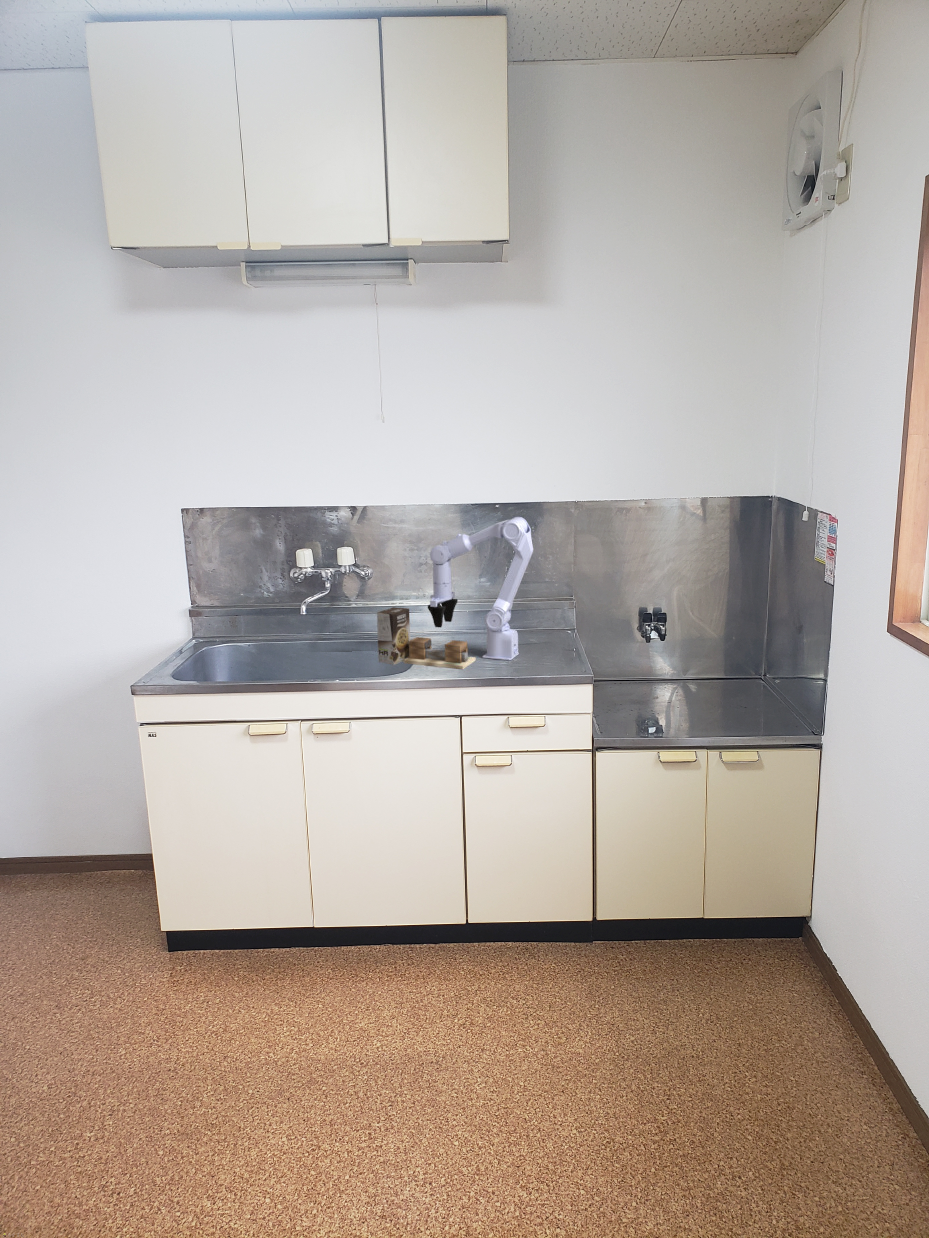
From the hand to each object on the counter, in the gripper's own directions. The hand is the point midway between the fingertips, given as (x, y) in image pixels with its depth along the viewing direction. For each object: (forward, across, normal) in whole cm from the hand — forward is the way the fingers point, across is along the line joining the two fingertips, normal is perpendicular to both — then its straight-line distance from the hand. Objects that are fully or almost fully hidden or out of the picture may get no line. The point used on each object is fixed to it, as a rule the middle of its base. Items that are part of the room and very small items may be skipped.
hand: (443, 624), depth 282 cm
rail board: (+9, +10, +3) cm, 14 cm away
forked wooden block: (+8, +10, +9) cm, 16 cm away
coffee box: (+10, +13, -11) cm, 20 cm away
